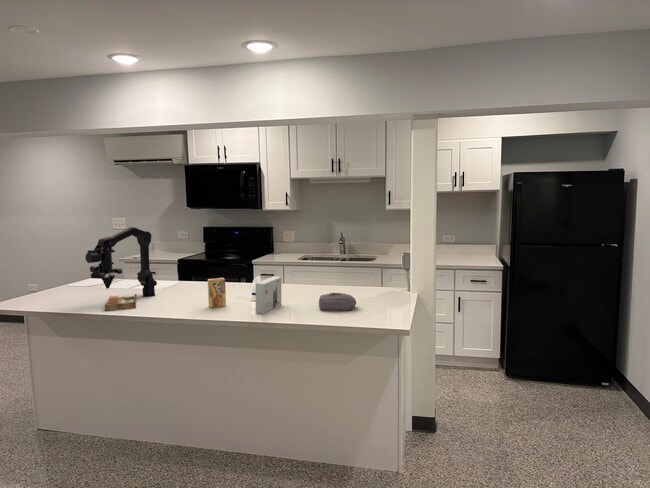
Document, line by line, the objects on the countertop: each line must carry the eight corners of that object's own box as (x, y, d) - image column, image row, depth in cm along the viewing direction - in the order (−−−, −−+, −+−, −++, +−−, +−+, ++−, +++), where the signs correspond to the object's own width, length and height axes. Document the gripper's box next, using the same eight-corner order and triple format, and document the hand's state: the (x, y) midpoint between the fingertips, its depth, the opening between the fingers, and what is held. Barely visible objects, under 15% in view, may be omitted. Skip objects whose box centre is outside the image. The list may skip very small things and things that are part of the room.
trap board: (136, 299, 268) (136, 293, 268) (135, 308, 247) (135, 302, 246) (109, 301, 263) (108, 296, 262) (105, 311, 241) (105, 305, 241)
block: (119, 301, 255) (118, 295, 255) (118, 302, 251) (118, 297, 251) (110, 301, 254) (109, 296, 253) (109, 303, 249) (109, 298, 249)
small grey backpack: (317, 312, 233) (356, 312, 232) (317, 296, 232) (356, 296, 231) (320, 304, 248) (356, 305, 247) (320, 290, 247) (356, 290, 246)
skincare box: (264, 314, 230) (263, 283, 228) (255, 313, 232) (254, 283, 230) (282, 304, 250) (281, 276, 248) (273, 303, 252) (272, 275, 250)
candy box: (224, 304, 252) (223, 277, 250) (226, 306, 248) (225, 278, 246) (208, 306, 248) (207, 279, 246) (210, 308, 244) (208, 280, 242)
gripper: (105, 258, 262) (106, 284, 264) (81, 262, 244) (83, 291, 246) (122, 258, 260) (123, 285, 261) (99, 263, 242) (100, 292, 243)
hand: (107, 288), depth 253 cm, fingers closed
